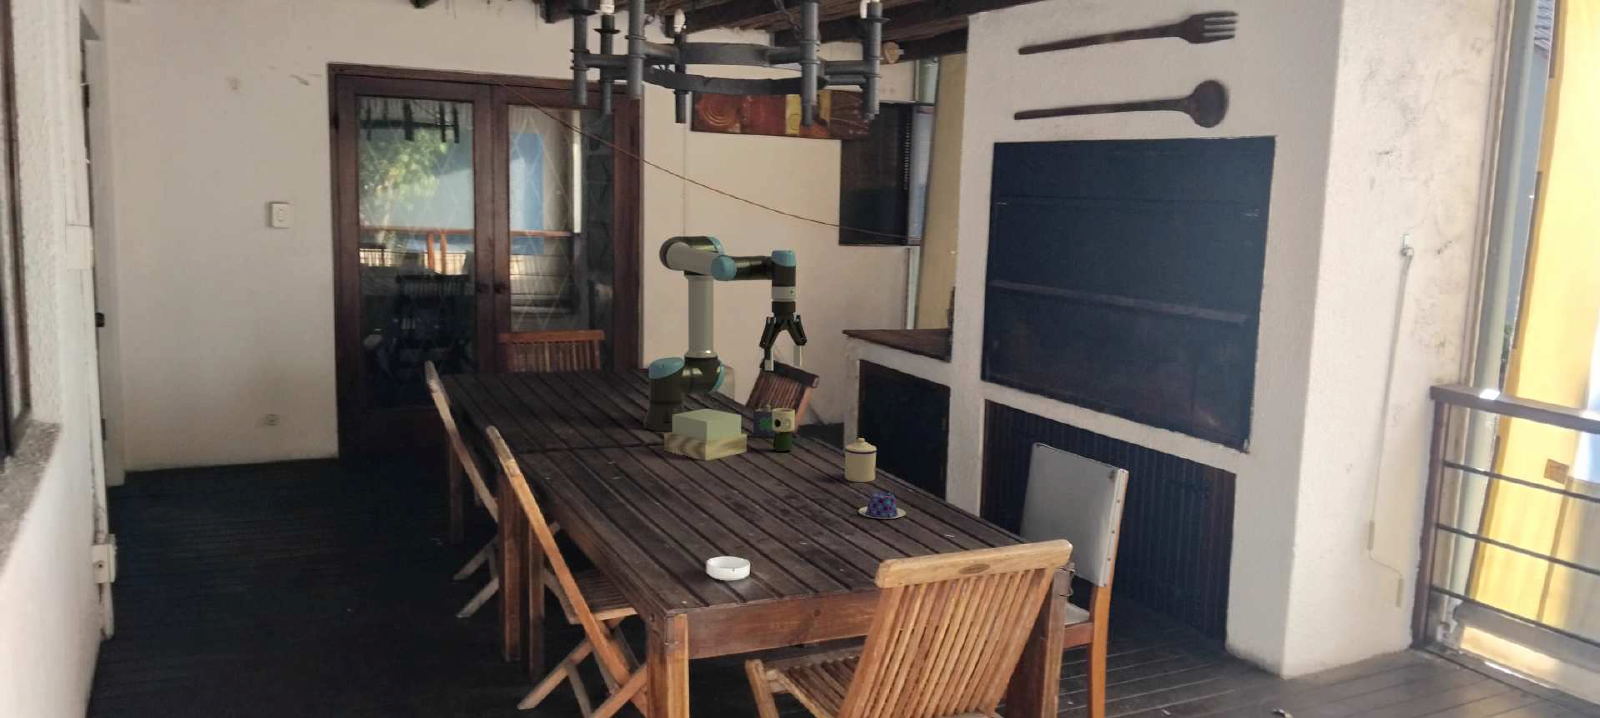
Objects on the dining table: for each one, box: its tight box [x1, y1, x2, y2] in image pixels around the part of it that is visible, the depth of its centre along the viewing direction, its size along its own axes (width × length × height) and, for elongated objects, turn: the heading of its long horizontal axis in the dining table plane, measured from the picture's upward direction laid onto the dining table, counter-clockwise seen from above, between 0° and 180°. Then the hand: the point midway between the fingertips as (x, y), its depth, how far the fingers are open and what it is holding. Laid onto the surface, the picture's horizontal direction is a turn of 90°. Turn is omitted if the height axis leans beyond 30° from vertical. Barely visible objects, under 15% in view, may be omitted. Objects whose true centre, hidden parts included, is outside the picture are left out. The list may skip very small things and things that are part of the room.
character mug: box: [771, 407, 796, 453], centre depth 371 cm, size 11×7×13 cm, turn 27°
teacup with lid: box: [844, 437, 878, 483], centre depth 339 cm, size 12×9×12 cm
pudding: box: [858, 491, 907, 520], centre depth 302 cm, size 12×12×5 cm
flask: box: [753, 404, 776, 439], centre depth 392 cm, size 9×3×11 cm, turn 87°
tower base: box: [663, 431, 748, 461], centre depth 368 cm, size 18×18×6 cm
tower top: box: [671, 408, 742, 441], centre depth 368 cm, size 15×15×6 cm
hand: (783, 368), depth 370 cm, fingers open, 13 cm apart
